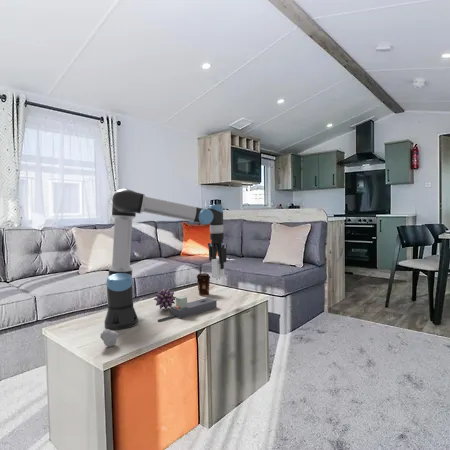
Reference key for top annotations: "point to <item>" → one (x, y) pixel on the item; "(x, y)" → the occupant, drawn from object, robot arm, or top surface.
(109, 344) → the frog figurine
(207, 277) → the coffee cup
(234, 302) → the top surface
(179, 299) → the block
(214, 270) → the white rectangular block
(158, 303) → the flower
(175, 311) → the power strip
